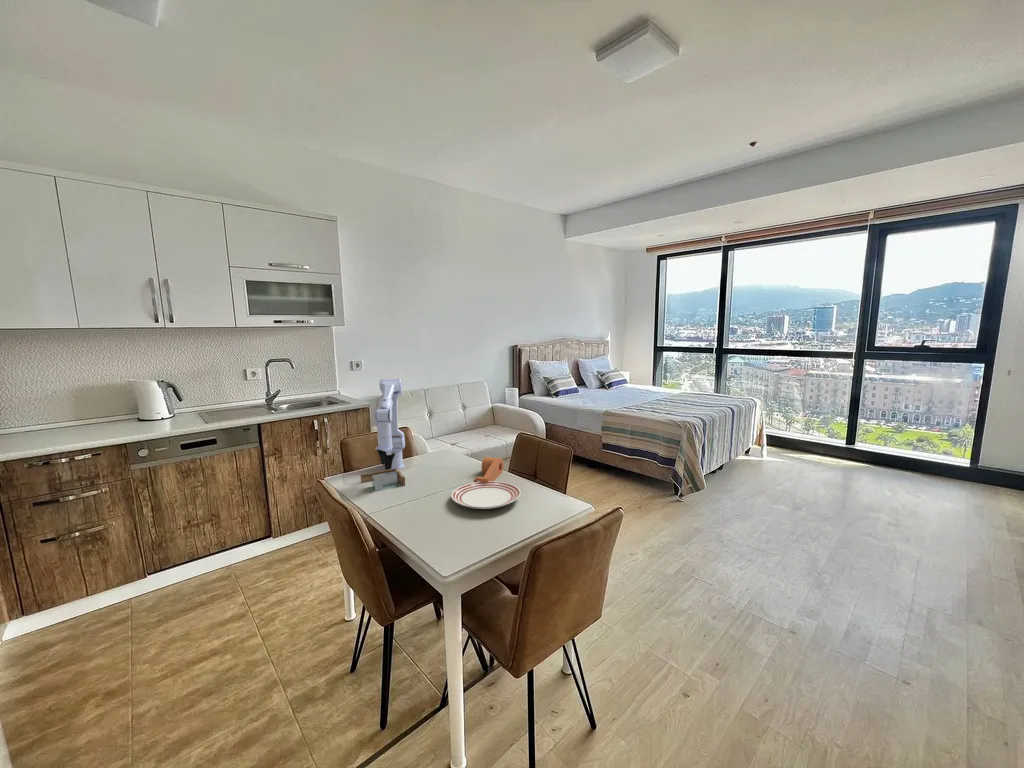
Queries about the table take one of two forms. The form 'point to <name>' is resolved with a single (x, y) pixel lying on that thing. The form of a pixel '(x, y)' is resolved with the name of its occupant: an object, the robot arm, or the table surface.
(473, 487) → the dinner plate
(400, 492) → the table surface
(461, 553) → the table surface
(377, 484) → the bracket
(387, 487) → the pad
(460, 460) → the table surface
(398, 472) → the brown wooden l-shaped piece
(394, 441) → the robot arm
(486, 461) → the crank
